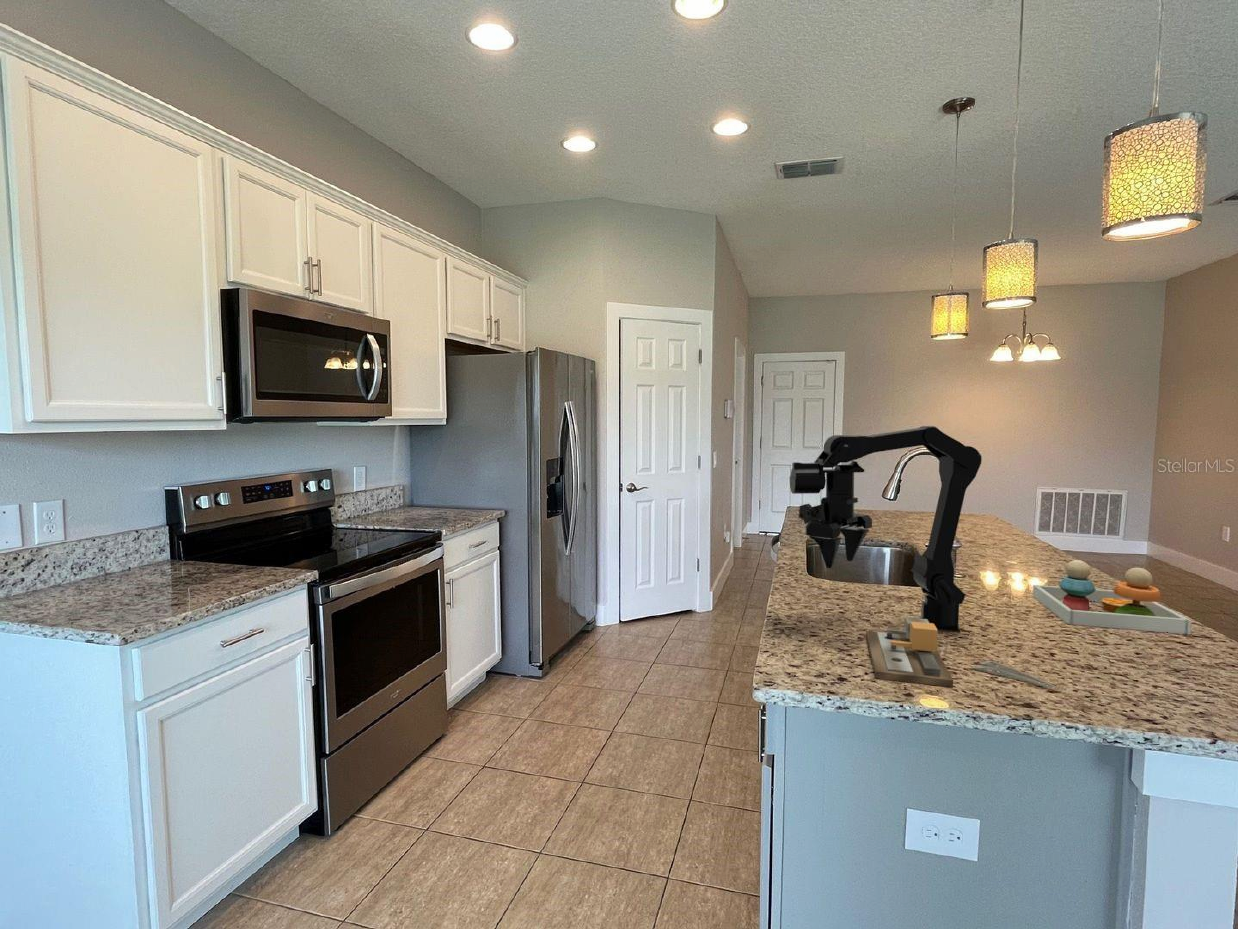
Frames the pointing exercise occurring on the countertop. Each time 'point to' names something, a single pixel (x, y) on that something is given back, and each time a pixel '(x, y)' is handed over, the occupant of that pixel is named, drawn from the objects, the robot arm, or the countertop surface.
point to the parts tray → (1159, 623)
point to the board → (906, 659)
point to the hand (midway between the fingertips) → (839, 564)
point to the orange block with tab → (920, 637)
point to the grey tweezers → (1010, 673)
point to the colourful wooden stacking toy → (1132, 589)
